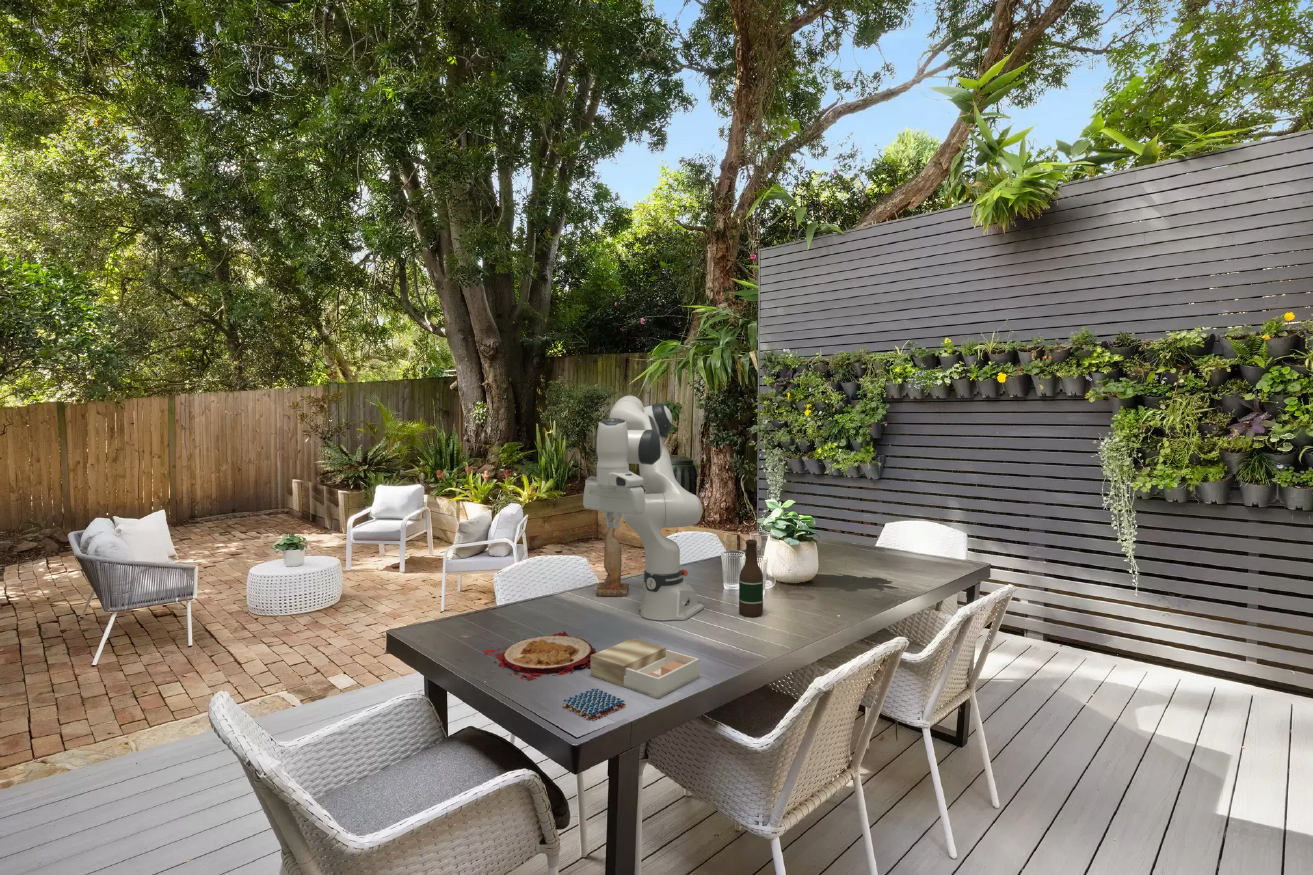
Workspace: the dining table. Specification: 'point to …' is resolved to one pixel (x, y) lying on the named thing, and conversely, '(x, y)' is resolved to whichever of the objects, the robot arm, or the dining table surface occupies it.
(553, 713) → the dining table surface
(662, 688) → the box
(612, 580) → the bird sculpture
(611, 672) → the wooden box sleeve
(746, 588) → the beer bottle
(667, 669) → the terracotta tile
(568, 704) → the woven mat
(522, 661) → the plate with food
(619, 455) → the robot arm
